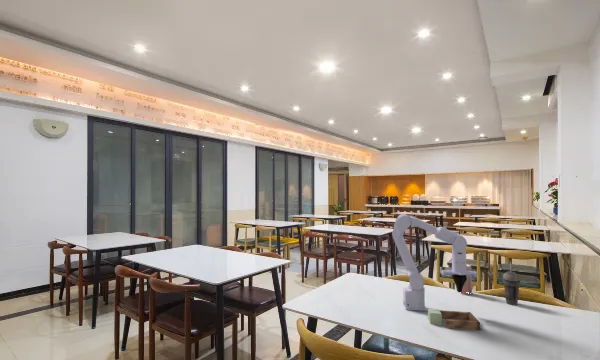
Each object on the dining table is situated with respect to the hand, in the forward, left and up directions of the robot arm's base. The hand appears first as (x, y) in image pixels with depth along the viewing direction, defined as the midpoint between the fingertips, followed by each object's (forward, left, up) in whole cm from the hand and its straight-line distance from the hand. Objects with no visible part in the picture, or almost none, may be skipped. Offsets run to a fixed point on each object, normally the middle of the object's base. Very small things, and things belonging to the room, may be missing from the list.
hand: (459, 291), depth 141 cm
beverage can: (+12, +28, -10) cm, 32 cm away
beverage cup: (+29, +16, -10) cm, 34 cm away
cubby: (-5, -12, -9) cm, 16 cm away
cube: (-14, -12, -10) cm, 20 cm away
